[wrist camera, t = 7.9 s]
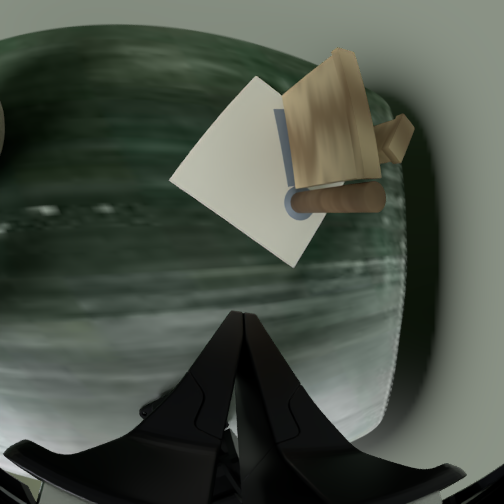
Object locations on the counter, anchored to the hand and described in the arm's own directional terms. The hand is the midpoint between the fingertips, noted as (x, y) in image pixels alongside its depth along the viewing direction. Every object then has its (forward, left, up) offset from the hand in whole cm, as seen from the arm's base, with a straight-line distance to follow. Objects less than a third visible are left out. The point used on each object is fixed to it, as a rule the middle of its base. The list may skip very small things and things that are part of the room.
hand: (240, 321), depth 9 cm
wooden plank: (+2, -13, -12) cm, 18 cm away
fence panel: (+6, -12, -12) cm, 18 cm away
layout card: (+4, -9, -13) cm, 16 cm away
